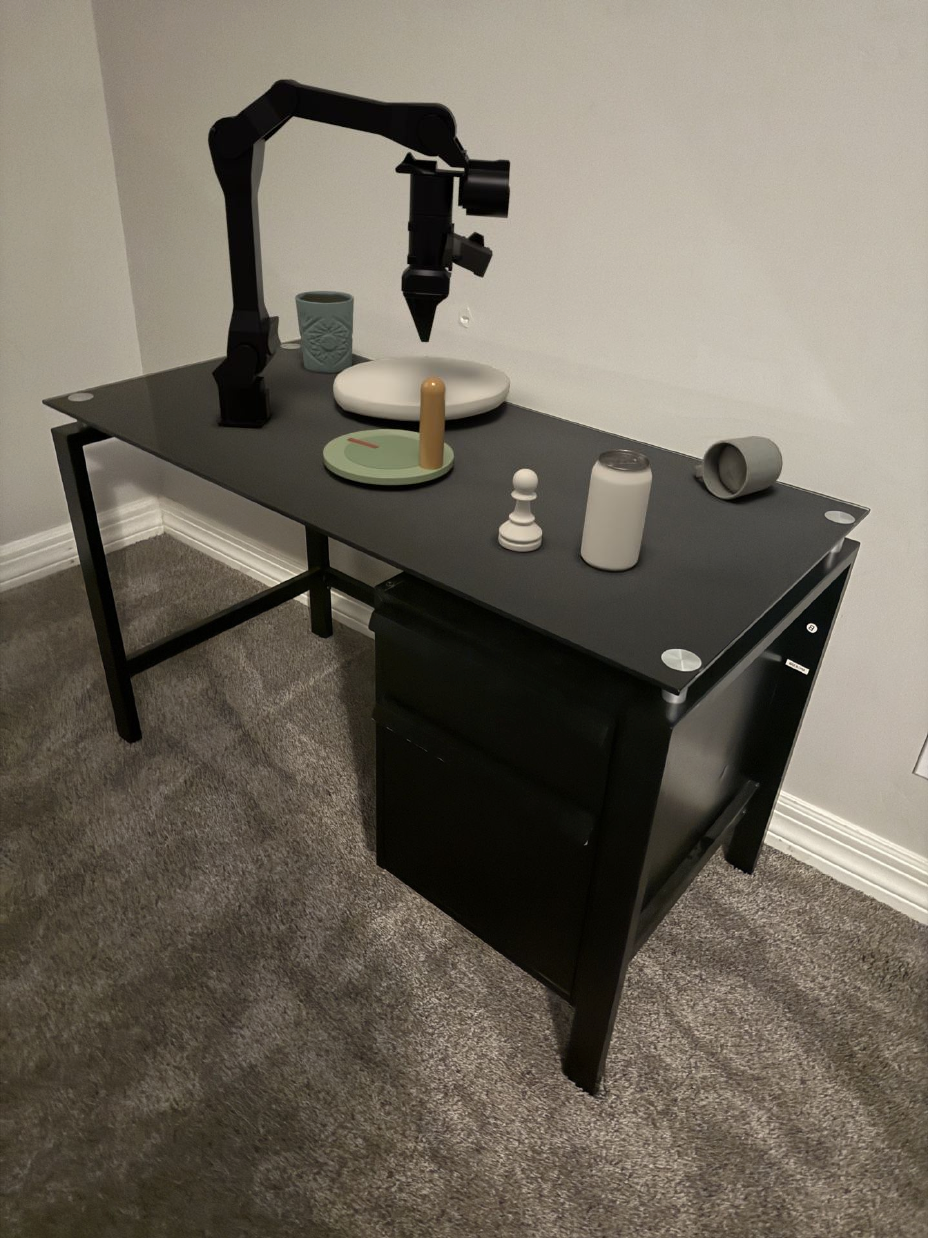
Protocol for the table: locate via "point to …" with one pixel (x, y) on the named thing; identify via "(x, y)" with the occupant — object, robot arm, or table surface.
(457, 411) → the white round disc
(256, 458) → the table surface
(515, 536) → the chess pawn
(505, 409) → the table surface
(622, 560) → the can
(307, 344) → the teal embossed cup
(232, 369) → the robot arm
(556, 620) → the table surface
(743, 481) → the ceramic mug
